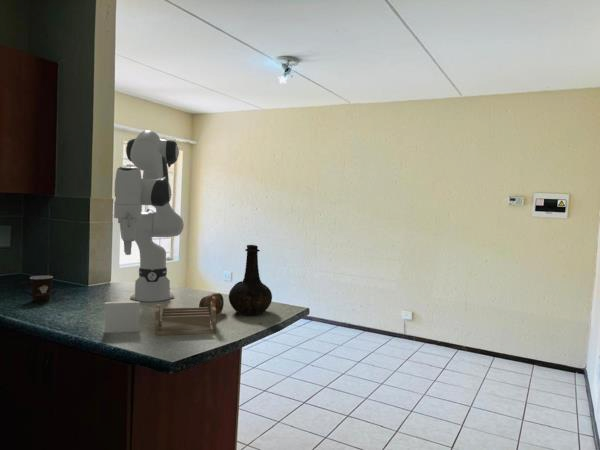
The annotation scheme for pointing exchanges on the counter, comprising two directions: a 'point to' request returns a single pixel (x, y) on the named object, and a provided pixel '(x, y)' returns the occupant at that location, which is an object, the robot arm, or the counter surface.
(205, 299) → the tin
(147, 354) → the counter surface
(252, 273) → the glass bottle
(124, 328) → the panel
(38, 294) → the coffee mug
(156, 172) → the robot arm
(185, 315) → the rack
